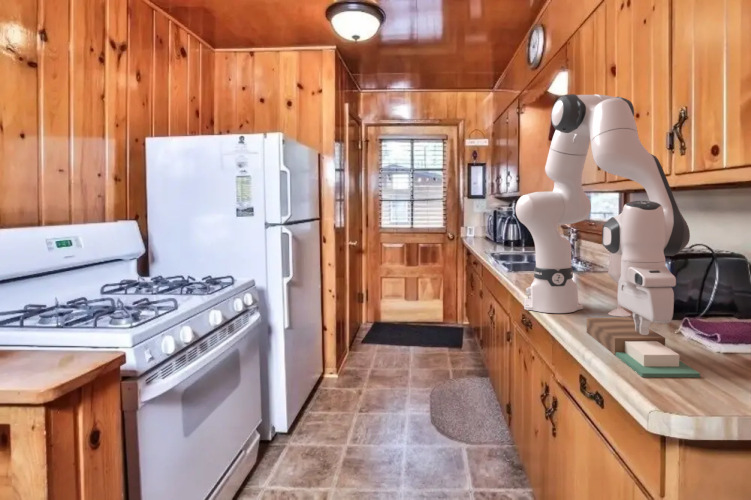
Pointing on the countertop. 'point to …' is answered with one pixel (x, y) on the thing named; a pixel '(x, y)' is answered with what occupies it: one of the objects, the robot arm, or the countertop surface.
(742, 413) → the countertop surface
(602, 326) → the brown striped block
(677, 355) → the cream block
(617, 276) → the champagne flute
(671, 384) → the countertop surface
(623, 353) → the mat
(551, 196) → the robot arm
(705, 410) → the countertop surface
